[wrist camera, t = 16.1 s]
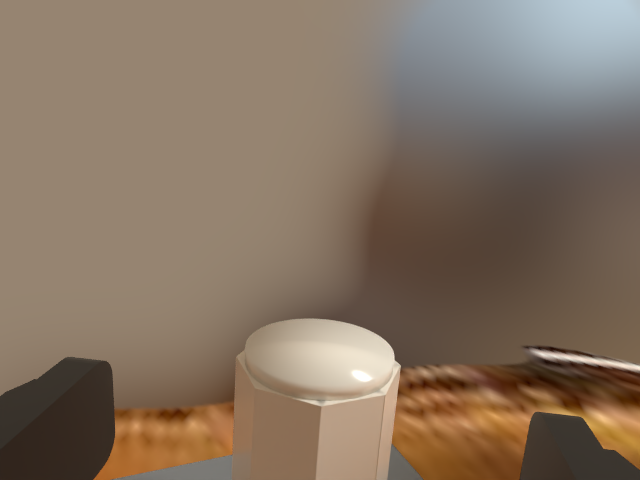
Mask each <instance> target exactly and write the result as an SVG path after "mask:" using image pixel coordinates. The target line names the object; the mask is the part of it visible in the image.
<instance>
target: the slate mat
mask: <svg viewBox="0 0 640 480" xmlns="http://www.w3.org/2000/svg"><path fill="white" fill-rule="evenodd" d="M232 457H233V455H229V456H224V457H219V458H214V459H210V460H205V461H200V462H195V463H190V464H185V465H180V466H175V467H171V468H166V469H161V470H156V471H151V472H146V473H141V474H136V475H132V476H127V477H122V478H117V479H112V480H232ZM387 480H424V479H423V478H422V477H421V476H420V475H419V474H418V473H417V472H416V470H415V469H414V468H413V467H412V466H411V465H410V464H409V463H408V461H407V460H406V459H405V458H404V457H403V456H402V455H401V454H400V452H399V451H398V450H397V449H396V448H395V447H394V446H393V445H392V443H391V451H390V459H389V468H388V476H387Z"/></svg>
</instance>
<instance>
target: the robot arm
mask: <svg viewBox="0 0 640 480" xmlns="http://www.w3.org/2000/svg"><path fill="white" fill-rule="evenodd" d="M114 438H115V418H114V398H113V378H112V369H111V366H110V364H109V363H108V362H107V361H101V360H92V359H84V358H75V357H67V358H65V359H63V360H61V361H60V362H59V363H58V364H56V365H55V366H54V367H52V368H51V369H50V370H49V371H47V372H46V373H45V374H43V375H42V376H41V377H39V378H38V379H34V380H32V381H30V382H28V383H25V384H23V385H21V386H19V387H17V388H14V389H12V390H10V391H7V392H5V393H4V394H3V395H1V396H0V480H93V479H94V478H95V477H96V475H97V474H98V473H99V472H100V470H101V469H102V468H103V466H104V465H105V463H106V462H107V460H108V458H109V456H110V453H111V451H112V447H113V443H114ZM520 480H640V470H639V469H637V468H636V467H635V466H634V465H632V464H631V463H630V462H629V461H628V460H626V459H625V458H624V457H623V456H621V455H620V454H619V453H618V452H616V451H615V450H607V449H603V448H602V446H601V445H600V443H599V442H598V440H597V438H596V437H595V435H594V434H593V432H592V431H591V429H590V428H589V426H588V425H587V423H586V422H585V421H584V419H583V418H581V417H578V416H569V415H560V414H552V413H543V412H535V413H534V414H533V416H532V418H531V421H530V425H529V431H528V436H527V442H526V447H525V453H524V458H523V463H522V469H521V474H520Z"/></svg>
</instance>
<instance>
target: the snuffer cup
mask: <svg viewBox="0 0 640 480" xmlns="http://www.w3.org/2000/svg"><path fill="white" fill-rule="evenodd" d="M400 367H401V365H399V364H398V363H397V362H396V361H394V352H393V350H392V348H391V346H390V345H389V344H388V343H387V342H386V341H385V340H384V339H383V338H381V337H380V336H378V335H376V334H375V333H373V332H371V331H369V330H367V329H364V328H361V327H359V326H355V325H352V324H348V323H344V322H339V321H332V320H324V319H294V320H286V321H281V322H276V323H273V324H270V325H267V326H264V327H262V328H260V329H258V330H257V331H255V332H254V333H253V334H251V336H250V337H249V338H248V339H247V342H246V346H245V350H244V351H243V352H242V353H240V354H239V355H238V356H237V357H236V377H235V403H234V430H233V457H232V480H387V476H388V468H389V459H390V451H391V443H392V434H393V426H394V417H395V409H396V401H397V392H398V384H399V375H400Z"/></svg>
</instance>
